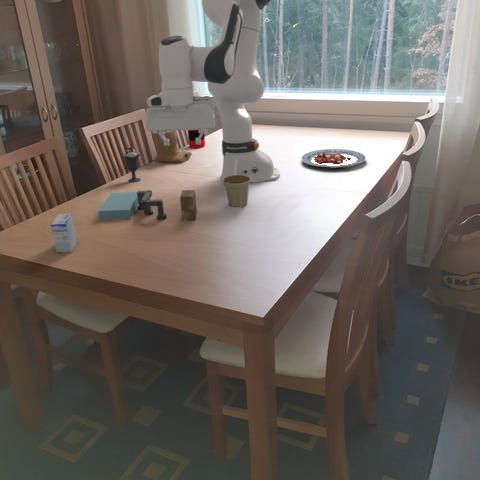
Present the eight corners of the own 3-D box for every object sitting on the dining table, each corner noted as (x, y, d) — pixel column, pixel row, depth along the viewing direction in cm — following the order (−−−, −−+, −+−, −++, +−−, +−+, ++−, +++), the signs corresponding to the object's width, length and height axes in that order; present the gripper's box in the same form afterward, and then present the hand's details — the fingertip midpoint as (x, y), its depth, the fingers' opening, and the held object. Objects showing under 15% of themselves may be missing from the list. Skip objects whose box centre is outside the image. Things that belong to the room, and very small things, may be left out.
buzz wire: (170, 205, 172) (169, 188, 169) (165, 219, 161) (163, 201, 159) (138, 207, 172) (136, 190, 170) (130, 220, 161) (128, 203, 159)
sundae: (139, 183, 196) (134, 144, 189) (123, 182, 197) (117, 144, 191) (145, 177, 202) (140, 140, 195) (129, 177, 203) (124, 140, 197)
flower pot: (231, 211, 165) (230, 185, 161) (218, 202, 173) (217, 178, 169) (256, 205, 169) (256, 180, 165) (243, 197, 176) (242, 173, 173)
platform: (141, 199, 179) (139, 191, 177) (130, 218, 163) (129, 209, 162) (112, 201, 179) (111, 192, 178) (99, 219, 164) (98, 210, 162)
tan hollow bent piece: (149, 164, 218) (145, 129, 212) (160, 157, 229) (156, 123, 222) (183, 165, 215) (179, 130, 208) (192, 157, 225) (189, 123, 219)
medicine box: (63, 241, 150) (57, 214, 146) (78, 240, 150) (72, 212, 146) (56, 253, 142) (50, 224, 139) (72, 252, 143) (66, 223, 139)
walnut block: (197, 213, 165) (194, 189, 161) (195, 220, 159) (192, 196, 156) (184, 213, 165) (182, 190, 162) (182, 221, 160) (179, 196, 156)
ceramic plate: (293, 169, 203) (293, 162, 202) (310, 152, 225) (310, 145, 223) (359, 174, 194) (359, 166, 193) (370, 155, 215) (370, 148, 214)
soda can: (208, 145, 243) (206, 120, 238) (198, 149, 237) (196, 123, 232) (195, 144, 247) (193, 119, 242) (186, 147, 241) (183, 122, 236)
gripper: (215, 94, 149) (218, 140, 155) (145, 97, 150) (151, 143, 156) (213, 97, 143) (216, 146, 149) (141, 100, 144) (147, 148, 150)
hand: (182, 144), depth 152 cm, fingers open, 8 cm apart
